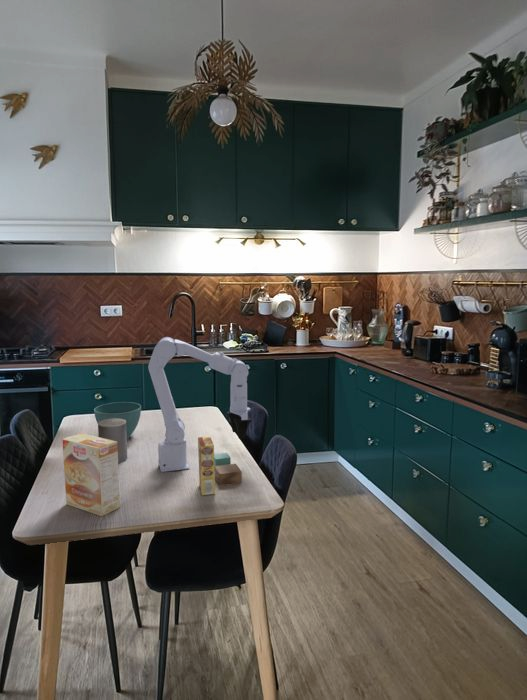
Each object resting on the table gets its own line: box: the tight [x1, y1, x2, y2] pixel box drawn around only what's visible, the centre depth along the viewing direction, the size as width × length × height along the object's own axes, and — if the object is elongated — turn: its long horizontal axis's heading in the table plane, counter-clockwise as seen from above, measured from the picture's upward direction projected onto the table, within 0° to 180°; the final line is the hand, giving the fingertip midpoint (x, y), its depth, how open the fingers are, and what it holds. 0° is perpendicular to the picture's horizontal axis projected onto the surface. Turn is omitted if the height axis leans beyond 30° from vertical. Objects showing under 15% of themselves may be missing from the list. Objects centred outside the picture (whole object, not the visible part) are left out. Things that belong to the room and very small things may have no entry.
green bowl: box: [93, 401, 142, 439], centre depth 207 cm, size 18×18×12 cm
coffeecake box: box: [61, 432, 121, 517], centre depth 144 cm, size 15×7×20 cm, turn 58°
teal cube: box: [214, 452, 232, 469], centre depth 172 cm, size 5×5×5 cm
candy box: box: [197, 436, 216, 496], centre depth 156 cm, size 9×4×15 cm, turn 13°
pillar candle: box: [97, 418, 128, 464], centre depth 181 cm, size 10×10×15 cm
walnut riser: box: [215, 463, 243, 487], centre depth 164 cm, size 7×7×4 cm
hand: (238, 434), depth 177 cm, fingers open, 7 cm apart
